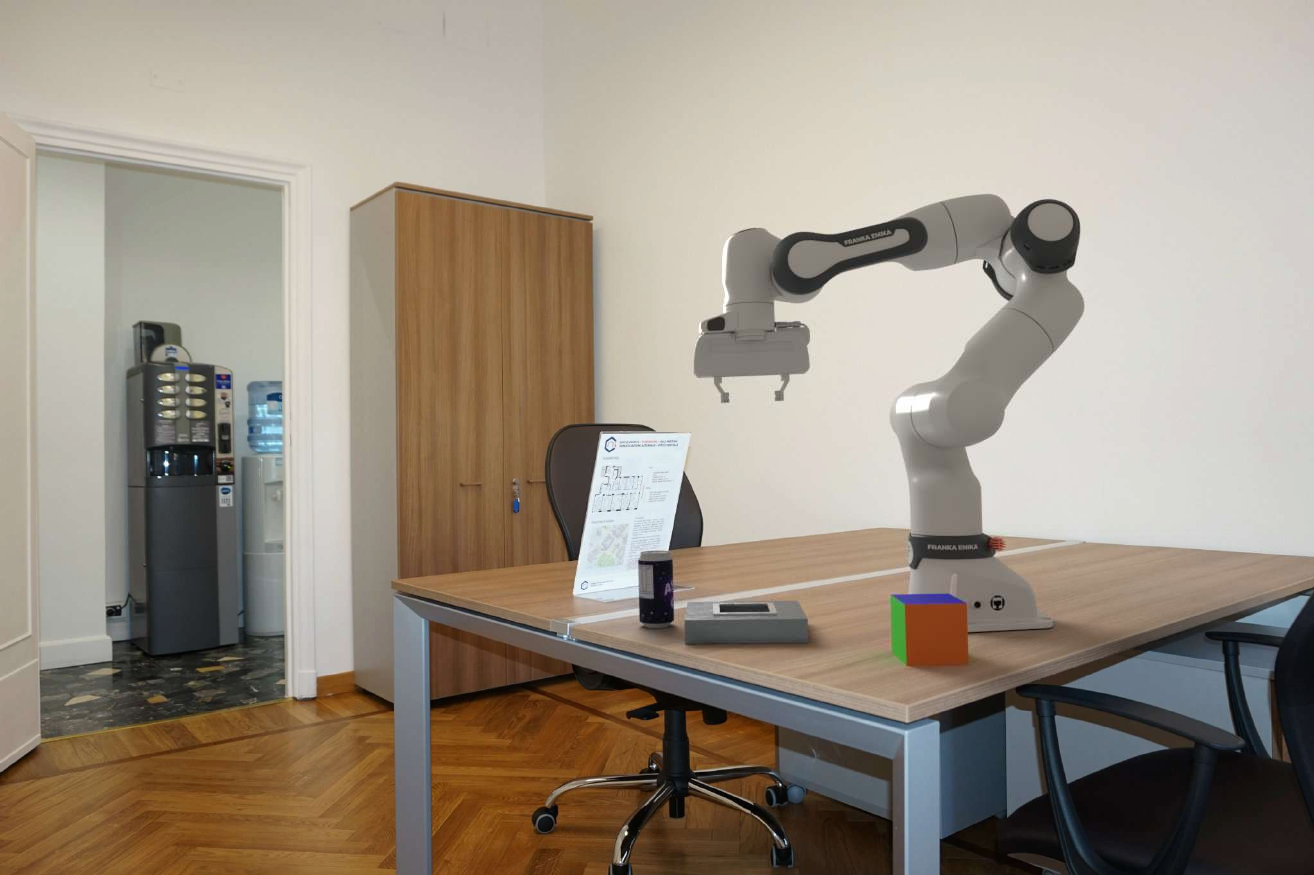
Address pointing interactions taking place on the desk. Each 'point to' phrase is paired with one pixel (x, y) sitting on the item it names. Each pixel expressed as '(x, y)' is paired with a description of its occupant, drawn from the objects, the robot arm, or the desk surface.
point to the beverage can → (656, 589)
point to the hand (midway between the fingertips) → (752, 402)
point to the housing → (745, 622)
